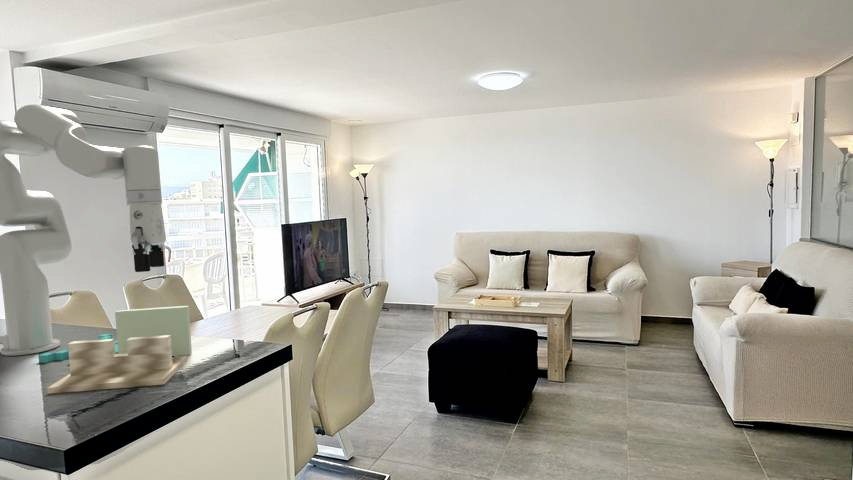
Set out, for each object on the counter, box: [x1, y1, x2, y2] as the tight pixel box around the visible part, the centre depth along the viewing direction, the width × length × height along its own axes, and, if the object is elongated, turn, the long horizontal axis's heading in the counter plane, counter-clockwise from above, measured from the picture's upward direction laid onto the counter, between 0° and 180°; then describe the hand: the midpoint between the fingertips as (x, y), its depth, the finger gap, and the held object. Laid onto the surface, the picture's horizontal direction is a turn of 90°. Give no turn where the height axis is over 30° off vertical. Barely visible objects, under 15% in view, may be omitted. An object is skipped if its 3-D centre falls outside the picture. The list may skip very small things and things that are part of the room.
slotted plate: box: [114, 305, 193, 357], centre depth 128 cm, size 16×2×12 cm, turn 102°
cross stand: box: [46, 335, 188, 395], centre depth 114 cm, size 22×16×8 cm
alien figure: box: [38, 333, 118, 364], centre depth 135 cm, size 20×2×20 cm
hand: (150, 269), depth 127 cm, fingers open, 9 cm apart
